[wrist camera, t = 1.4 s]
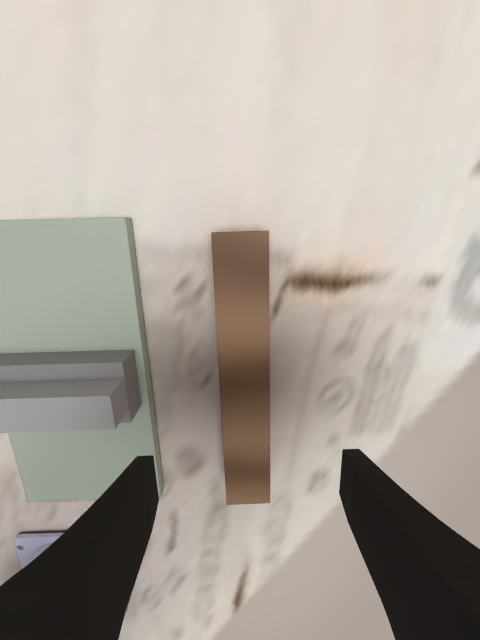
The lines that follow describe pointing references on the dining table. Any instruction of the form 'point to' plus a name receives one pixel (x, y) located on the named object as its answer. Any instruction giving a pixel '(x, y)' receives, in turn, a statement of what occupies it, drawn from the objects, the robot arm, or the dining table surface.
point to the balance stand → (73, 356)
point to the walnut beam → (244, 361)
